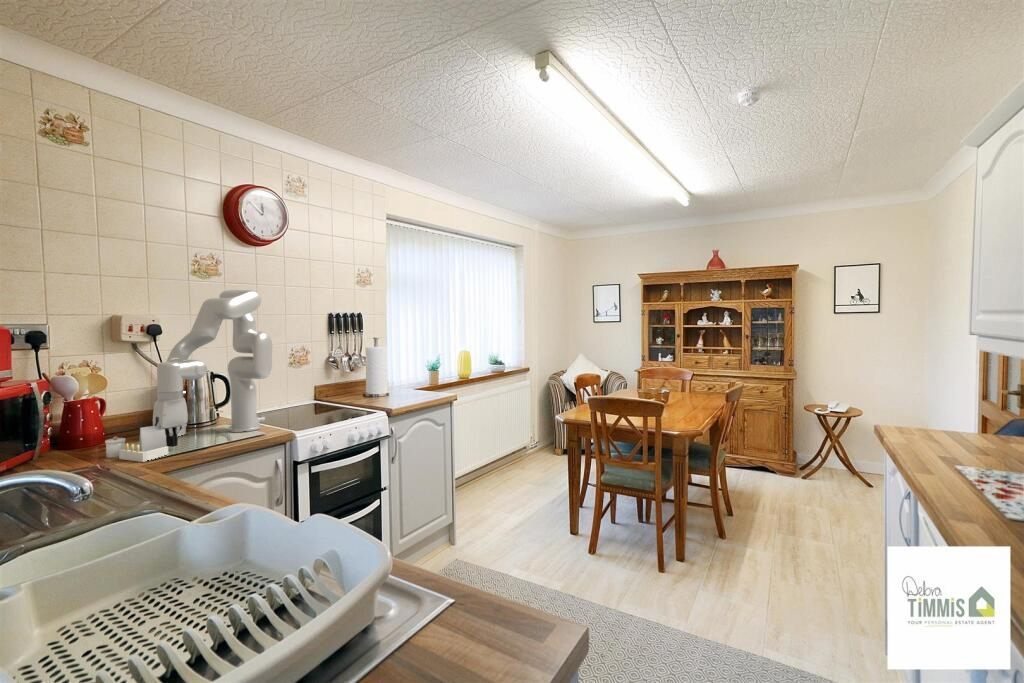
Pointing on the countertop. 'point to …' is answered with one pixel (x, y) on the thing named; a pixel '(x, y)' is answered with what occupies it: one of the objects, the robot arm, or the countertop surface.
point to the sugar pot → (114, 446)
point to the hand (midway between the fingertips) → (172, 445)
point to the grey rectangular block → (152, 438)
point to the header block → (141, 453)
